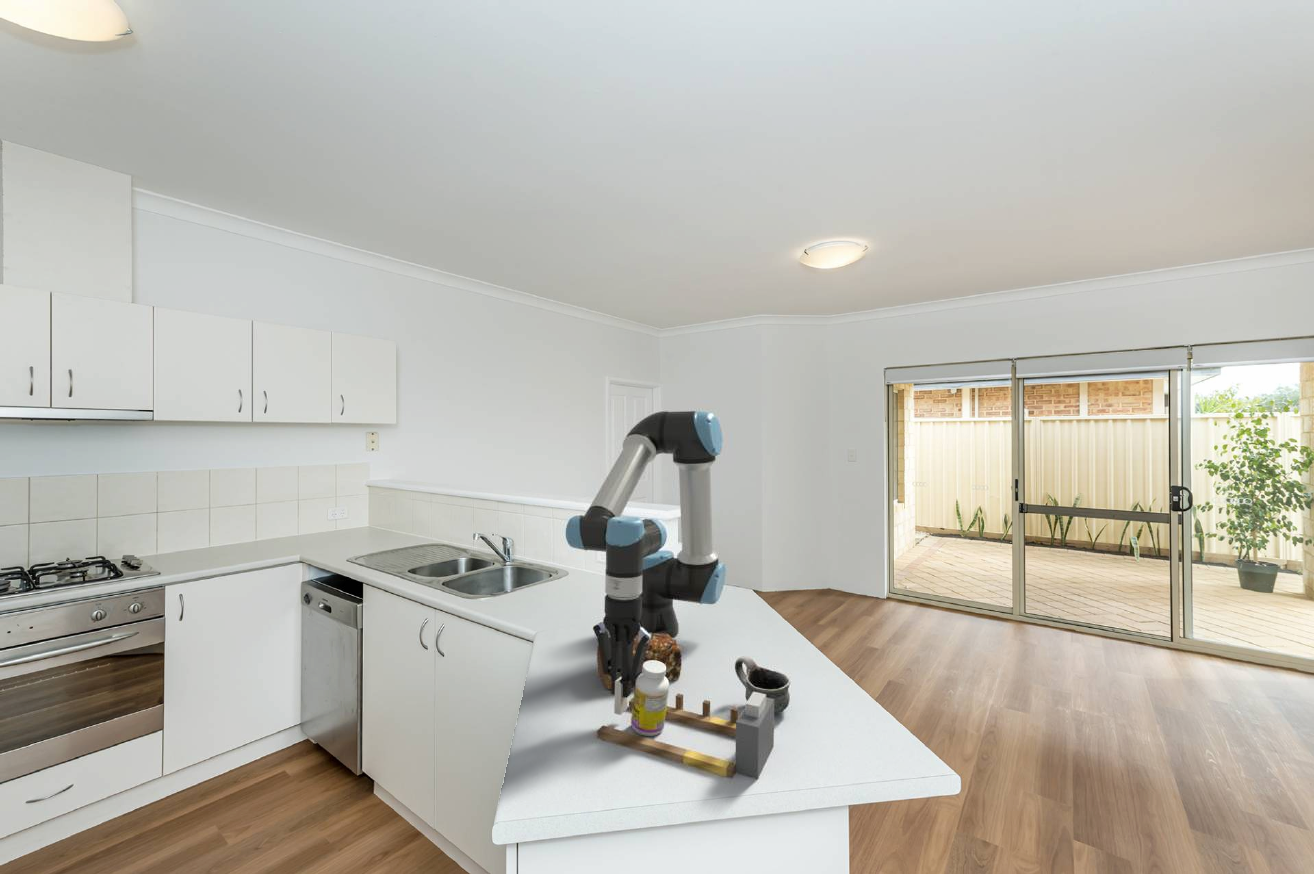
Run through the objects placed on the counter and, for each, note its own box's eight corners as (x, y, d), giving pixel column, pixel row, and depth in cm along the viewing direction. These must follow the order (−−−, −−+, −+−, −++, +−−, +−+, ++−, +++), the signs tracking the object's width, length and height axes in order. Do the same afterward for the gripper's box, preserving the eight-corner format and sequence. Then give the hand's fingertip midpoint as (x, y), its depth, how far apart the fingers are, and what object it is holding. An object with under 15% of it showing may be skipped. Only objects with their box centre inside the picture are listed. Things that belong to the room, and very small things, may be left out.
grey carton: (733, 772, 96) (734, 709, 96) (751, 740, 106) (752, 683, 106) (757, 779, 94) (758, 715, 94) (773, 746, 104) (774, 688, 104)
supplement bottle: (629, 715, 112) (637, 656, 111) (662, 717, 113) (669, 658, 112) (631, 736, 106) (638, 674, 104) (665, 738, 106) (673, 676, 105)
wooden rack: (597, 738, 106) (597, 717, 106) (636, 701, 120) (636, 683, 120) (731, 778, 94) (732, 755, 94) (757, 732, 108) (757, 712, 108)
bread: (606, 693, 124) (606, 649, 124) (595, 673, 134) (595, 632, 134) (683, 681, 130) (683, 639, 130) (667, 663, 140) (667, 624, 140)
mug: (780, 728, 110) (781, 678, 110) (723, 710, 117) (724, 663, 117) (796, 707, 119) (796, 661, 118) (741, 692, 125) (742, 648, 125)
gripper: (586, 594, 111) (583, 711, 111) (643, 604, 105) (640, 728, 105) (605, 585, 117) (603, 696, 118) (660, 594, 112) (657, 711, 112)
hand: (620, 711), depth 111 cm, fingers closed
